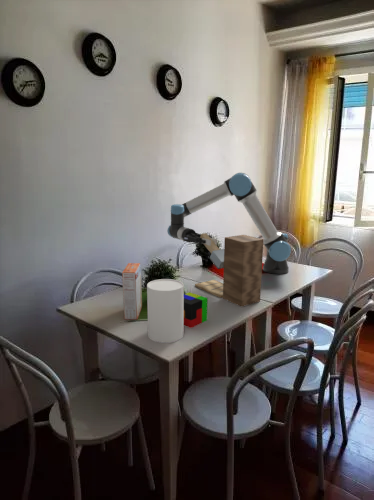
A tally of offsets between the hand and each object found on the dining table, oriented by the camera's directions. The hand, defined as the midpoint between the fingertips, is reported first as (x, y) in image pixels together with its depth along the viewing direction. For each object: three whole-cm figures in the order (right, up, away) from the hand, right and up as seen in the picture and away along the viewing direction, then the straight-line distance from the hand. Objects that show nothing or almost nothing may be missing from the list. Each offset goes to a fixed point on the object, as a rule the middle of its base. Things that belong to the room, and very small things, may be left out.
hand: (213, 242), depth 192 cm
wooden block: (+12, -28, -11) cm, 32 cm away
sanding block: (0, -6, +2) cm, 6 cm away
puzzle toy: (-12, -33, -35) cm, 50 cm away
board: (+2, -24, +3) cm, 24 cm away
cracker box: (-37, -32, -28) cm, 56 cm away
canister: (-22, -36, -47) cm, 63 cm away
